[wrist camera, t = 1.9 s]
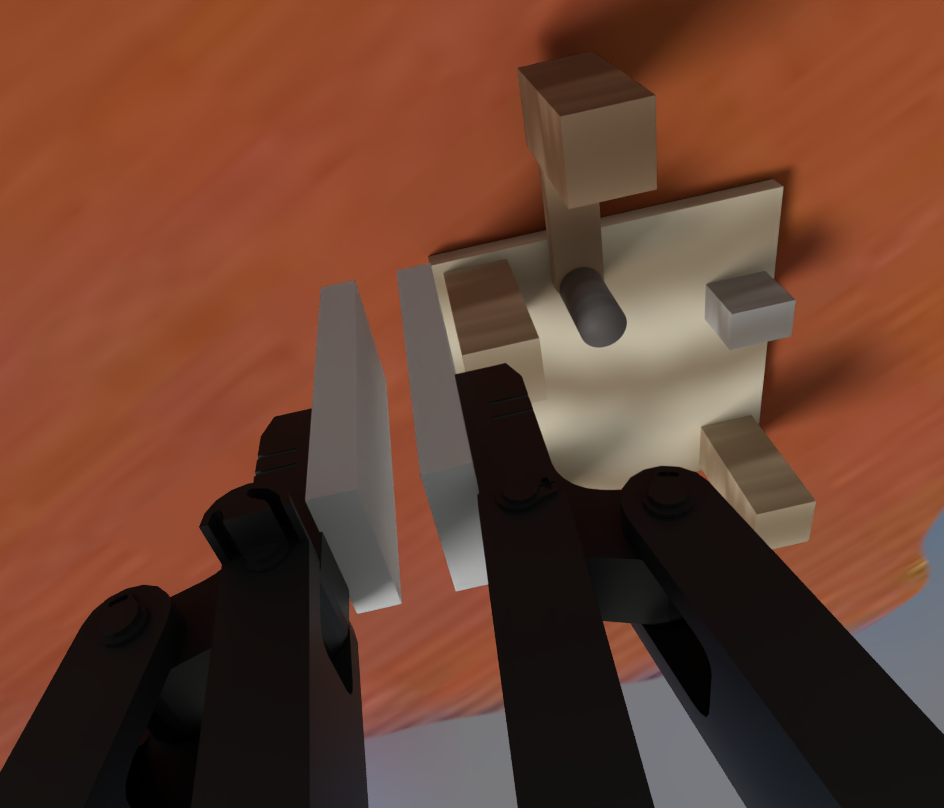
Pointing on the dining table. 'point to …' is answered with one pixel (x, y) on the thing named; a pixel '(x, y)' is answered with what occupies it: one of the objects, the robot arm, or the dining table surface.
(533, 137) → the hinged leg
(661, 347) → the stool seat
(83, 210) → the dining table surface
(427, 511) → the dining table surface
